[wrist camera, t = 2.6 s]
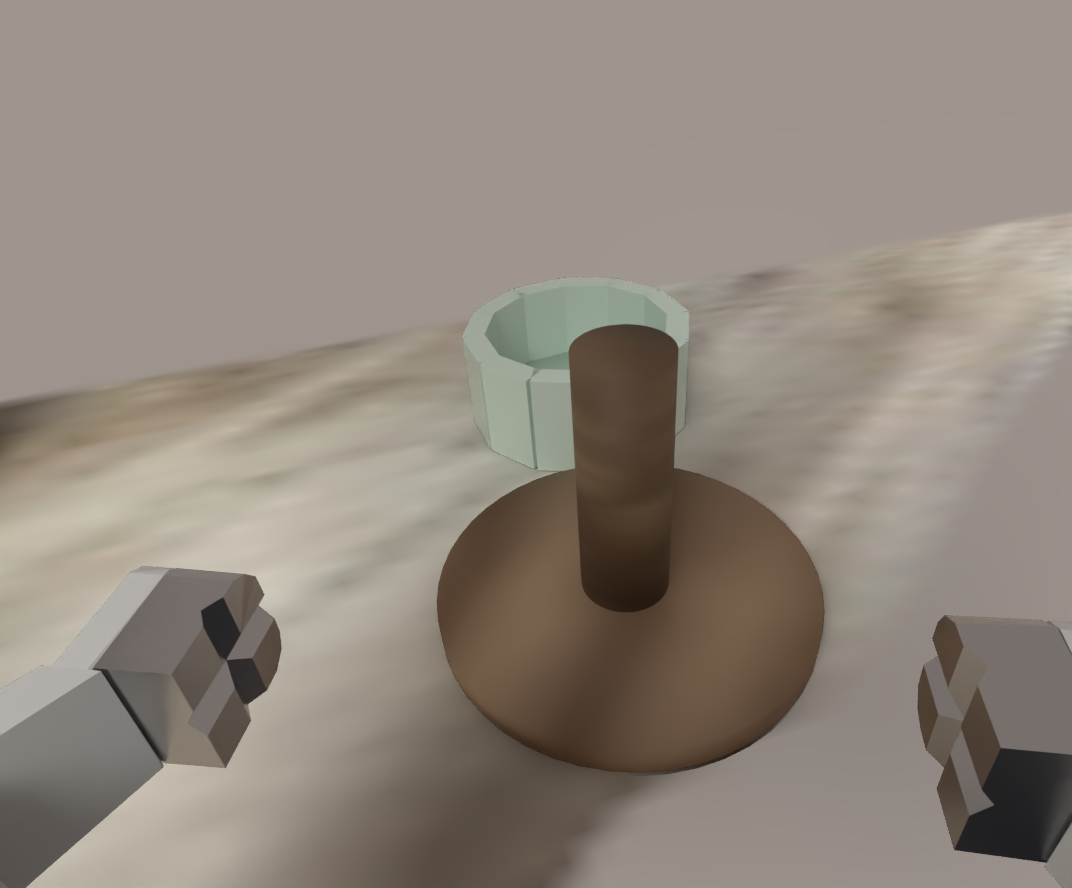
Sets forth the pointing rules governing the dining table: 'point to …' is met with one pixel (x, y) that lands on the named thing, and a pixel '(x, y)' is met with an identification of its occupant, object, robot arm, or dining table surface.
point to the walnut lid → (630, 588)
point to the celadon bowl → (552, 359)
